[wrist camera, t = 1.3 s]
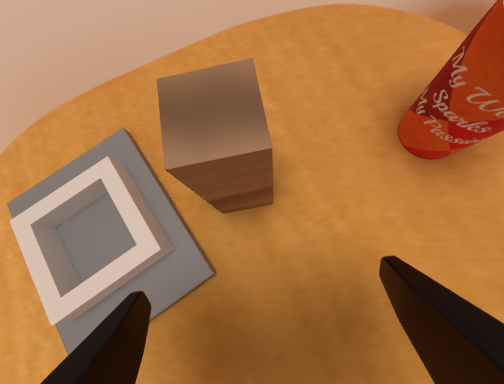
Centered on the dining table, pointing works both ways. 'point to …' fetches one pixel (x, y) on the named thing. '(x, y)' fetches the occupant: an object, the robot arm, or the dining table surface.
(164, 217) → the socket board
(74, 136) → the dining table surface
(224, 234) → the dining table surface
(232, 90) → the tall wooden pillar
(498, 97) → the paper cup
